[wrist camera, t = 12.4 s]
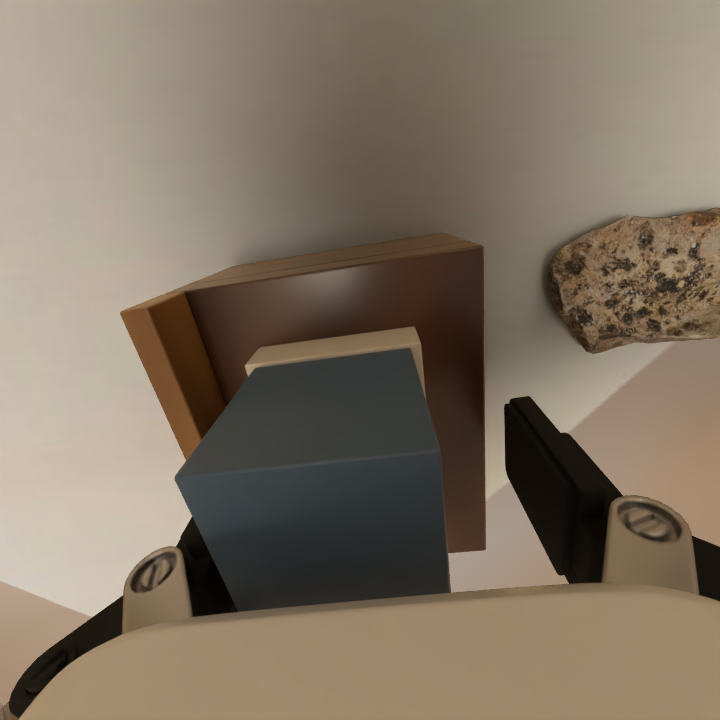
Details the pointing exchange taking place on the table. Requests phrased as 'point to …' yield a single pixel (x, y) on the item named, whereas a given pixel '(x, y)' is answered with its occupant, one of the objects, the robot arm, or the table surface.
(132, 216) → the table surface
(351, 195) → the table surface
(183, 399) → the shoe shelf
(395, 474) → the blue block
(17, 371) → the table surface
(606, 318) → the stone
